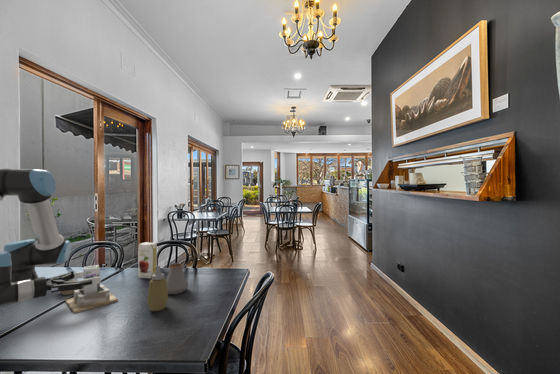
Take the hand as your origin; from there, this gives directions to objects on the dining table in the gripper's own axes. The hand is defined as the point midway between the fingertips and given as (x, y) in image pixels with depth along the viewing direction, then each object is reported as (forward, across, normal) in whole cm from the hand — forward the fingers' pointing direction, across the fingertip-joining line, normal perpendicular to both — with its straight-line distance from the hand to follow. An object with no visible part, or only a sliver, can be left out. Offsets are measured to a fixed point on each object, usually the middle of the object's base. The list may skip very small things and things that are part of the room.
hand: (95, 276), depth 124 cm
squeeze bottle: (+15, +28, -11) cm, 34 cm away
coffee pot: (+34, +14, -11) cm, 39 cm away
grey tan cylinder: (-5, -20, -11) cm, 23 cm away
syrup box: (-2, 0, -10) cm, 10 cm away
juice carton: (+30, -17, -11) cm, 36 cm away
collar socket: (-1, 0, -11) cm, 11 cm away
